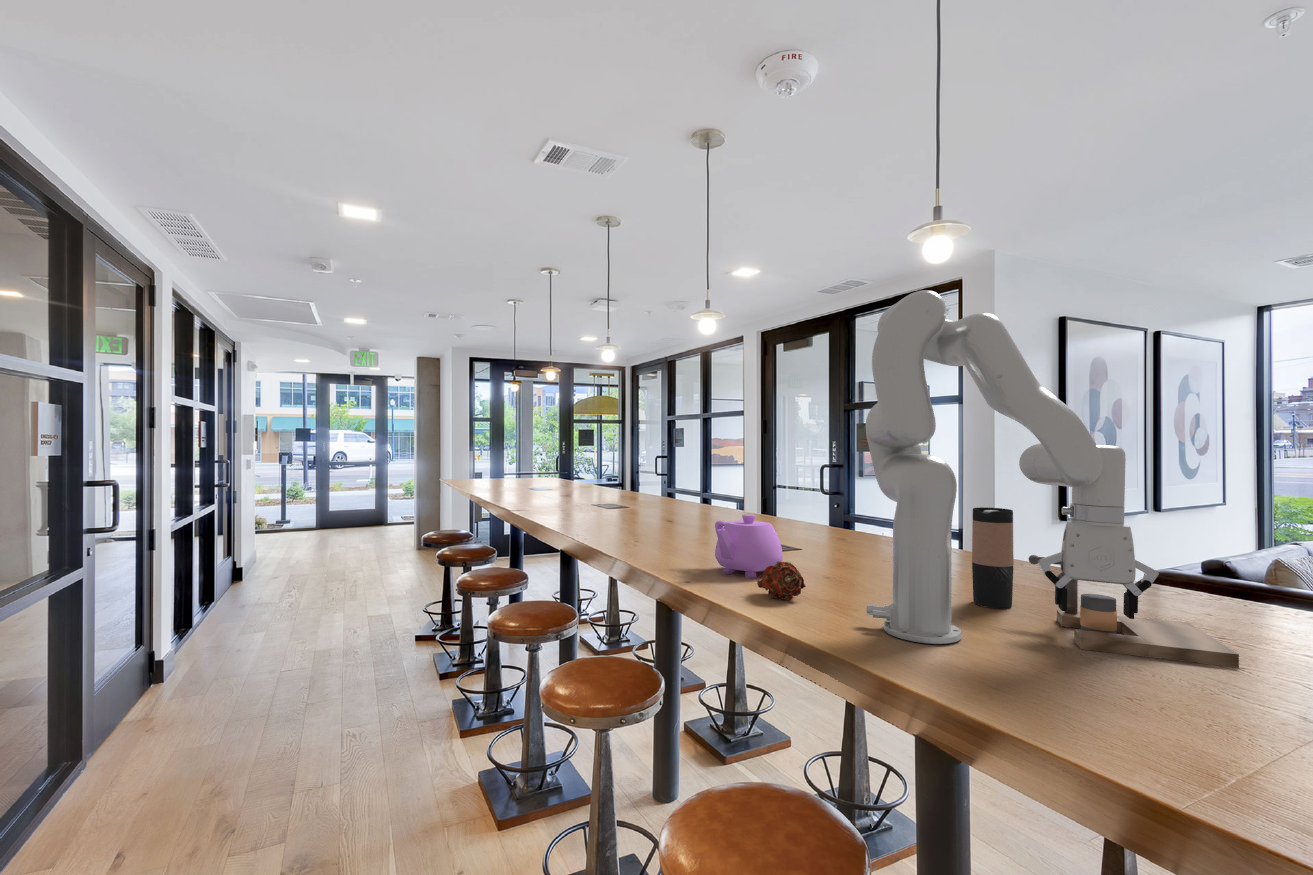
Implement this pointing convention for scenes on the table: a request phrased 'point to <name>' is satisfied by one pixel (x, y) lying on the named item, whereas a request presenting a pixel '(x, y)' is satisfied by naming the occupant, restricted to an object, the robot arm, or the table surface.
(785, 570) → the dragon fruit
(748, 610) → the table surface
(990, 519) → the travel mug
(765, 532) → the teapot
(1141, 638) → the grey frame with post
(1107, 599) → the coffee cup
